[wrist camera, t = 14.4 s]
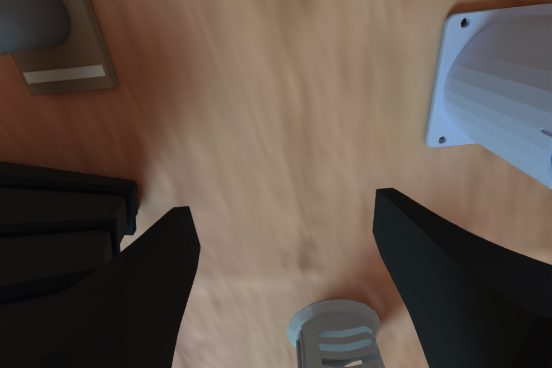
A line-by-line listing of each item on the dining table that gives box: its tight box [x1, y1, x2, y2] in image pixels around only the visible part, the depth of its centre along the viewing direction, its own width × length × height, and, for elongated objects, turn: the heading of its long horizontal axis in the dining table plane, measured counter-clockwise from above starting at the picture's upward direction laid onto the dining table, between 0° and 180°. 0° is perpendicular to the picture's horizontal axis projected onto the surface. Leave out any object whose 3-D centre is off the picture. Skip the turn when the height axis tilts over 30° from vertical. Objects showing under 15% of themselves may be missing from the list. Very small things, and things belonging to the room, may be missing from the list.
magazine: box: [0, 162, 138, 325], centre depth 17 cm, size 4×13×15 cm, turn 80°
